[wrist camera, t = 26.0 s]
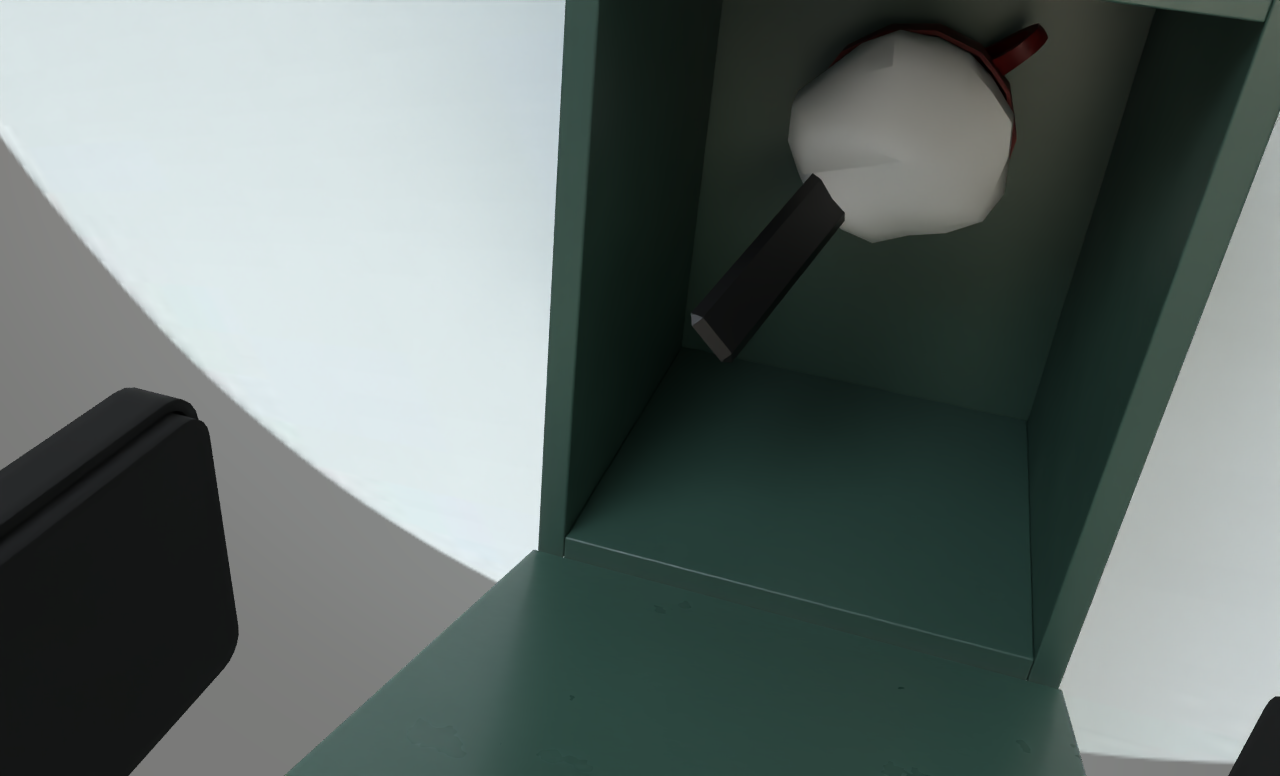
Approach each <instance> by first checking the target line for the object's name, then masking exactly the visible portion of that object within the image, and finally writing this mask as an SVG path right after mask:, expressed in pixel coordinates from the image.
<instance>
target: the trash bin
mask: <svg viewBox="0 0 1280 776" xmlns="http://www.w3.org/2000/svg"><path fill="white" fill-rule="evenodd" d="M1037 23H1039V24H1040V25H1041V26H1042V27H1043V28H1044V29H1045V31H1046V33H1047V35H1048V39H1047V41H1046V43H1045V44H1044V45H1043V46H1042V47H1041V48H1040V49H1039V50H1038V51H1037V52H1036V53H1034V54H1033V55H1032V56H1031V57H1029V58H1028V59H1027V60H1025V61H1024V62H1023V63H1021V64H1020V65H1018V66H1017V67H1016V68H1014V69H1013V70H1011V71H1010V72H1008V73H1007V74H1005V75H1004V76H1005V77H1006V78H1007V80H1008V81H1009V83H1010V87H1011V94H1012V102H1013V109H1014V116H1015V124H1016V134H1017V140H1016V143H1015V146H1014V149H1013V151H1012V154H1011V157H1010V160H1009V164H1008V170H1007V177H1006V184H1005V191H1004V195H1003V196H1002V197H1001V199H1000V200H999V201H998V202H997V204H996V205H995V206H994V207H993V209H992V210H991V211H990V213H989V214H988V215H987V216H986V218H985V219H984V220H983V221H982V222H979V223H976V224H973V225H970V226H967V227H964V228H960V229H957V230H954V231H951V232H948V233H940V234H923V235H908V236H903V237H899V238H894V239H889V240H885V241H880V242H875V243H871V242H869V241H867V240H864V239H862V238H860V237H857V236H855V235H853V234H850V233H848V232H846V231H843V230H841V229H840V228H839V229H838V230H837V231H836V232H835V234H834V235H833V236H832V237H831V239H830V240H829V241H828V242H827V244H826V245H825V246H824V247H823V249H822V250H821V251H820V253H819V254H818V255H817V256H816V258H815V259H814V260H813V261H812V263H811V264H810V265H809V266H808V268H807V269H806V270H805V271H804V273H803V274H802V275H801V276H800V278H799V279H798V280H797V281H796V283H795V284H794V285H793V286H792V288H791V289H790V290H789V291H788V293H787V294H786V295H785V297H784V298H783V299H782V300H781V302H780V303H779V304H778V305H777V307H776V308H775V309H774V310H773V312H772V313H771V314H770V315H769V317H768V318H767V319H766V320H765V322H764V323H763V324H762V325H761V327H760V328H759V329H758V330H757V332H756V333H755V334H754V336H753V337H752V338H751V339H750V341H749V342H748V343H747V344H746V346H745V347H744V348H743V349H742V351H741V352H740V353H739V354H738V356H737V357H736V358H735V359H734V361H733V362H732V363H727V362H721V361H720V360H719V358H718V357H717V356H716V355H715V353H714V352H713V351H712V350H711V349H710V347H709V346H708V345H707V344H706V342H705V341H704V340H703V339H702V337H701V336H700V335H699V334H698V333H697V331H696V330H695V329H694V328H693V326H692V324H691V313H692V311H693V310H694V309H695V308H696V307H697V306H698V304H699V303H700V302H701V301H702V300H703V299H704V298H705V296H706V295H707V294H708V293H709V292H710V291H711V290H712V288H713V287H714V286H715V285H716V284H717V283H718V281H719V280H720V279H721V278H722V277H723V276H724V275H725V273H726V272H727V271H728V270H729V269H730V268H731V266H732V265H733V264H734V263H735V262H736V261H737V260H738V258H739V257H740V256H741V255H742V254H743V253H744V252H745V250H746V249H747V248H748V247H749V246H750V245H751V243H752V242H753V241H754V240H755V239H756V238H757V237H758V235H759V234H760V233H761V232H762V231H763V230H764V228H765V227H766V226H767V225H768V224H769V223H770V222H771V220H772V219H773V218H774V217H775V216H776V215H777V214H778V212H779V211H780V210H781V209H782V208H783V207H784V205H785V204H786V203H787V202H788V201H789V200H790V199H791V197H792V196H793V195H794V194H795V193H796V192H797V190H798V189H799V188H800V187H801V186H802V185H803V182H802V180H801V178H800V175H799V173H798V170H797V167H796V164H795V161H794V158H793V155H792V152H791V149H790V146H789V143H788V135H789V126H790V118H791V109H792V105H793V102H794V100H795V97H796V95H797V92H798V91H799V90H800V89H802V88H803V87H804V86H806V85H807V84H808V83H810V82H811V81H812V80H814V79H815V78H817V77H818V76H819V75H821V74H822V73H823V72H825V71H826V70H827V69H828V68H829V66H830V65H831V64H832V63H833V61H834V60H835V59H836V58H837V57H838V55H839V54H840V53H841V52H842V51H843V49H844V48H845V47H846V46H847V45H848V44H851V43H853V42H855V41H857V40H859V39H861V38H863V37H865V36H867V35H869V34H871V33H873V32H876V31H878V30H880V29H882V28H884V27H886V26H888V25H890V24H942V25H944V26H946V27H948V28H950V29H952V30H954V31H956V32H958V33H960V34H962V35H964V36H966V37H968V38H970V39H972V40H974V41H976V42H979V43H980V44H982V45H983V47H984V48H986V47H988V46H990V45H992V44H994V43H996V42H998V41H1000V40H1002V39H1004V38H1005V37H1007V36H1009V35H1011V34H1013V33H1015V32H1017V31H1019V30H1022V29H1024V28H1026V27H1028V26H1030V25H1033V24H1037ZM1279 112H1280V0H566V5H565V25H564V45H563V65H562V85H561V105H560V126H559V146H558V166H557V186H556V206H555V226H554V246H553V266H552V286H551V306H550V326H549V346H548V366H547V386H546V406H545V426H544V446H543V466H542V486H541V506H540V526H539V546H538V550H539V551H541V552H545V553H548V554H552V555H556V556H560V557H564V558H567V559H571V560H575V561H579V562H582V563H586V564H590V565H594V566H597V567H601V568H605V569H609V570H612V571H616V572H620V573H624V574H627V575H631V576H635V577H639V578H642V579H646V580H650V581H654V582H657V583H661V584H665V585H669V586H672V587H676V588H680V589H684V590H688V591H691V592H695V593H699V594H703V595H706V596H710V597H714V598H718V599H721V600H725V601H729V602H733V603H736V604H740V605H744V606H748V607H751V608H755V609H759V610H763V611H766V612H770V613H774V614H778V615H781V616H785V617H789V618H793V619H797V620H800V621H804V622H808V623H812V624H815V625H819V626H823V627H827V628H830V629H834V630H838V631H842V632H845V633H849V634H853V635H857V636H860V637H864V638H868V639H872V640H875V641H879V642H883V643H887V644H891V645H894V646H898V647H902V648H906V649H909V650H913V651H917V652H921V653H924V654H928V655H932V656H936V657H939V658H943V659H947V660H951V661H954V662H958V663H962V664H966V665H969V666H973V667H977V668H981V669H984V670H988V671H992V672H996V673H1000V674H1003V675H1007V676H1011V677H1015V678H1018V679H1022V680H1027V681H1030V682H1033V683H1037V684H1041V685H1045V686H1048V687H1052V688H1056V689H1058V688H1059V686H1060V683H1061V681H1062V678H1063V675H1064V673H1065V670H1066V667H1067V665H1068V662H1069V660H1070V657H1071V654H1072V652H1073V649H1074V647H1075V644H1076V641H1077V639H1078V636H1079V634H1080V631H1081V628H1082V626H1083V623H1084V621H1085V618H1086V615H1087V613H1088V610H1089V607H1090V605H1091V602H1092V600H1093V597H1094V594H1095V592H1096V589H1097V587H1098V584H1099V581H1100V579H1101V576H1102V574H1103V571H1104V568H1105V566H1106V563H1107V561H1108V558H1109V555H1110V553H1111V550H1112V547H1113V545H1114V542H1115V540H1116V537H1117V534H1118V532H1119V529H1120V527H1121V524H1122V521H1123V519H1124V516H1125V514H1126V511H1127V508H1128V506H1129V503H1130V501H1131V498H1132V495H1133V493H1134V490H1135V487H1136V485H1137V482H1138V480H1139V477H1140V474H1141V472H1142V469H1143V467H1144V464H1145V461H1146V459H1147V456H1148V454H1149V451H1150V448H1151V446H1152V443H1153V441H1154V438H1155V435H1156V433H1157V430H1158V427H1159V425H1160V422H1161V420H1162V417H1163V414H1164V412H1165V409H1166V407H1167V404H1168V401H1169V399H1170V396H1171V394H1172V391H1173V388H1174V386H1175V383H1176V381H1177V378H1178V375H1179V373H1180V370H1181V367H1182V365H1183V362H1184V360H1185V357H1186V354H1187V352H1188V349H1189V347H1190V344H1191V341H1192V339H1193V336H1194V334H1195V331H1196V328H1197V326H1198V323H1199V321H1200V318H1201V315H1202V313H1203V310H1204V307H1205V305H1206V302H1207V300H1208V297H1209V294H1210V292H1211V289H1212V287H1213V284H1214V281H1215V279H1216V276H1217V274H1218V271H1219V268H1220V266H1221V263H1222V261H1223V258H1224V255H1225V253H1226V250H1227V247H1228V245H1229V242H1230V240H1231V237H1232V234H1233V232H1234V229H1235V227H1236V224H1237V221H1238V219H1239V216H1240V214H1241V211H1242V208H1243V206H1244V203H1245V201H1246V198H1247V195H1248V193H1249V190H1250V188H1251V185H1252V182H1253V180H1254V177H1255V174H1256V172H1257V169H1258V167H1259V164H1260V161H1261V159H1262V156H1263V154H1264V151H1265V148H1266V146H1267V143H1268V141H1269V138H1270V135H1271V133H1272V130H1273V128H1274V125H1275V122H1276V120H1277V117H1278V114H1279Z"/></svg>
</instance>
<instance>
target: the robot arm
mask: <svg viewBox="0 0 1280 776" xmlns="http://www.w3.org/2000/svg"><path fill="white" fill-rule="evenodd" d="M238 635H239V634H238V621H237V615H236V608H235V601H234V595H233V588H232V582H231V575H230V568H229V562H228V555H227V548H226V541H225V535H224V528H223V522H222V515H221V509H220V501H219V495H218V488H217V482H216V475H215V469H214V461H213V456H212V448H211V442H210V435H209V431H208V428H207V426H206V425H205V424H204V422H202V421H200V420H198V417H197V413H196V410H195V409H194V408H193V407H192V405H191V404H190V403H188V402H186V401H184V400H182V399H177V398H173V397H170V396H165V395H161V394H158V393H154V392H149V391H146V390H142V389H138V388H124V389H122V390H120V391H117V392H116V393H114V394H112V395H111V396H109V397H108V398H106V399H105V400H103V401H102V402H101V403H99V404H98V405H96V406H95V407H93V408H92V409H90V410H89V411H87V412H86V413H84V414H83V415H81V416H80V417H78V418H77V419H75V420H74V421H73V422H71V423H70V424H68V425H67V426H65V427H64V428H62V429H61V430H60V431H58V432H56V433H55V434H53V435H52V436H51V437H49V438H48V439H46V440H45V441H43V442H42V443H40V444H39V445H37V446H36V447H34V448H33V449H31V450H30V451H28V452H27V453H26V454H24V455H23V456H21V457H20V458H19V459H17V460H15V461H14V462H12V463H11V464H9V465H8V466H7V467H5V468H3V469H2V470H1V471H0V776H129V775H130V773H131V772H132V771H133V770H134V769H135V768H136V767H137V765H138V764H139V763H140V762H141V761H142V760H143V759H144V758H145V757H146V755H147V754H148V753H149V752H150V751H151V750H152V749H153V748H154V746H155V745H156V744H157V743H158V742H159V741H160V740H161V739H162V738H163V736H164V735H165V734H166V733H167V732H168V731H169V729H171V727H172V726H173V725H174V724H175V723H176V722H177V721H178V720H179V718H180V717H181V716H182V715H183V714H184V713H185V712H186V711H187V709H188V708H189V707H190V706H191V705H192V704H193V703H194V702H195V700H196V699H197V698H198V697H199V696H200V695H201V694H202V693H203V691H204V690H205V689H206V688H207V687H208V686H209V685H210V683H211V682H212V681H213V680H214V679H215V678H216V677H217V676H218V675H219V674H220V672H221V671H222V670H223V669H224V668H225V666H226V665H227V663H228V662H229V661H230V659H231V657H232V655H233V653H234V650H235V647H236V645H237V640H238ZM1228 776H1280V697H1276V696H1275V697H1274V698H1273V699H1271V700H1270V701H1269V702H1268V704H1267V705H1266V707H1265V708H1264V710H1263V712H1262V714H1261V716H1260V718H1259V719H1258V721H1257V723H1256V725H1255V727H1254V729H1253V731H1252V732H1251V734H1250V736H1249V738H1248V740H1247V742H1246V744H1245V746H1244V747H1243V749H1242V751H1241V753H1240V755H1239V757H1238V759H1237V760H1236V762H1235V764H1234V766H1233V768H1232V770H1231V772H1230V774H1229V775H1228Z"/></svg>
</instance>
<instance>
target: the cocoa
mask: <svg viewBox="0 0 1280 776" xmlns="http://www.w3.org/2000/svg"><path fill="white" fill-rule="evenodd" d="M1047 39H1048V35H1047V33H1046V31H1045V29H1044V28H1043V27H1042V26H1041V25H1040V24H1039V23H1037V24H1033V25H1030V26H1028V27H1026V28H1024V29H1022V30H1019V31H1017V32H1015V33H1013V34H1011V35H1009V36H1007V37H1005V38H1004V39H1002V40H1000V41H998V42H996V43H994V44H992V45H990V46H988V47H986V48H984V47H983V45H982V44H980V43H979V42H976V41H974V40H972V39H970V38H968V37H966V36H964V35H962V34H960V33H958V32H956V31H954V30H952V29H950V28H948V27H946V26H944V25H942V24H890V25H888V26H886V27H884V28H882V29H880V30H878V31H876V32H873V33H871V34H869V35H867V36H865V37H863V38H861V39H859V40H857V41H855V42H853V43H851V44H848V45H847V46H846V47H845V48H844V49H843V51H842V52H841V53H840V54H839V55H838V57H837V58H836V59H835V60H834V61H833V63H832V64H831V65H830V66H829V68H828V69H827V70H826V71H825V72H823V73H822V74H821V75H819V76H818V77H817V78H815V79H814V80H812V81H811V82H810V83H808V84H807V85H806V86H804V87H803V88H802V89H800V90H799V91H798V92H797V95H796V97H795V100H794V102H793V105H792V109H791V118H790V126H789V135H788V143H789V146H790V149H791V152H792V155H793V158H794V161H795V164H796V167H797V170H798V173H799V175H800V178H801V180H802V182H803V185H802V186H801V187H800V188H799V189H798V190H797V192H796V193H795V194H794V195H793V196H792V197H791V199H790V200H789V201H788V202H787V203H786V204H785V205H784V207H783V208H782V209H781V210H780V211H779V212H778V214H777V215H776V216H775V217H774V218H773V219H772V220H771V222H770V223H769V224H768V225H767V226H766V227H765V228H764V230H763V231H762V232H761V233H760V234H759V235H758V237H757V238H756V239H755V240H754V241H753V242H752V243H751V245H750V246H749V247H748V248H747V249H746V250H745V252H744V253H743V254H742V255H741V256H740V257H739V258H738V260H737V261H736V262H735V263H734V264H733V265H732V266H731V268H730V269H729V270H728V271H727V272H726V273H725V275H724V276H723V277H722V278H721V279H720V280H719V281H718V283H717V284H716V285H715V286H714V287H713V288H712V290H711V291H710V292H709V293H708V294H707V295H706V296H705V298H704V299H703V300H702V301H701V302H700V303H699V304H698V306H697V307H696V308H695V309H694V310H693V311H692V313H691V324H692V326H693V328H694V329H695V330H696V331H697V333H698V334H699V335H700V336H701V337H702V339H703V340H704V341H705V342H706V344H707V345H708V346H709V347H710V349H711V350H712V351H713V352H714V353H715V355H716V356H717V357H718V358H719V360H720V361H721V362H727V363H732V362H733V361H734V359H735V358H736V357H737V356H738V354H739V353H740V352H741V351H742V349H743V348H744V347H745V346H746V344H747V343H748V342H749V341H750V339H751V338H752V337H753V336H754V334H755V333H756V332H757V330H758V329H759V328H760V327H761V325H762V324H763V323H764V322H765V320H766V319H767V318H768V317H769V315H770V314H771V313H772V312H773V310H774V309H775V308H776V307H777V305H778V304H779V303H780V302H781V300H782V299H783V298H784V297H785V295H786V294H787V293H788V291H789V290H790V289H791V288H792V286H793V285H794V284H795V283H796V281H797V280H798V279H799V278H800V276H801V275H802V274H803V273H804V271H805V270H806V269H807V268H808V266H809V265H810V264H811V263H812V261H813V260H814V259H815V258H816V256H817V255H818V254H819V253H820V251H821V250H822V249H823V247H824V246H825V245H826V244H827V242H828V241H829V240H830V239H831V237H832V236H833V235H834V234H835V232H836V231H837V230H838V229H839V228H840V229H841V230H843V231H846V232H848V233H850V234H853V235H855V236H857V237H860V238H862V239H864V240H867V241H869V242H871V243H875V242H880V241H885V240H889V239H894V238H899V237H903V236H908V235H923V234H940V233H948V232H951V231H954V230H957V229H960V228H964V227H967V226H970V225H973V224H976V223H979V222H982V221H983V220H984V219H985V218H986V216H987V215H988V214H989V213H990V211H991V210H992V209H993V207H994V206H995V205H996V204H997V202H998V201H999V200H1000V199H1001V197H1002V196H1003V195H1004V191H1005V184H1006V177H1007V170H1008V164H1009V160H1010V157H1011V154H1012V151H1013V149H1014V146H1015V143H1016V140H1017V134H1016V124H1015V116H1014V109H1013V102H1012V94H1011V87H1010V83H1009V81H1008V80H1007V78H1006V77H1005V76H1004V75H1005V74H1007V73H1008V72H1010V71H1011V70H1013V69H1014V68H1016V67H1017V66H1018V65H1020V64H1021V63H1023V62H1024V61H1025V60H1027V59H1028V58H1029V57H1031V56H1032V55H1033V54H1034V53H1036V52H1037V51H1038V50H1039V49H1040V48H1041V47H1042V46H1043V45H1044V44H1045V43H1046V41H1047Z"/></svg>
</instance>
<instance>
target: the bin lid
mask: <svg viewBox="0 0 1280 776" xmlns="http://www.w3.org/2000/svg"><path fill="white" fill-rule="evenodd" d="M284 776H1086V774H1085V770H1084V767H1083V763H1082V759H1081V756H1080V752H1079V749H1078V745H1077V742H1076V738H1075V735H1074V731H1073V728H1072V724H1071V721H1070V717H1069V714H1068V710H1067V707H1066V703H1065V700H1064V696H1063V693H1062V690H1060V689H1056V688H1052V687H1048V686H1045V685H1041V684H1037V683H1033V682H1030V681H1026V680H1022V679H1018V678H1015V677H1011V676H1007V675H1003V674H1000V673H996V672H992V671H988V670H984V669H981V668H977V667H973V666H969V665H966V664H962V663H958V662H954V661H951V660H947V659H943V658H939V657H936V656H932V655H928V654H924V653H921V652H917V651H913V650H909V649H906V648H902V647H898V646H894V645H891V644H887V643H883V642H879V641H875V640H872V639H868V638H864V637H860V636H857V635H853V634H849V633H845V632H842V631H838V630H834V629H830V628H827V627H823V626H819V625H815V624H812V623H808V622H804V621H800V620H797V619H793V618H789V617H785V616H781V615H778V614H774V613H770V612H766V611H763V610H759V609H755V608H751V607H748V606H744V605H740V604H736V603H733V602H729V601H725V600H721V599H718V598H714V597H710V596H706V595H703V594H699V593H695V592H691V591H688V590H684V589H680V588H676V587H672V586H669V585H665V584H661V583H657V582H654V581H650V580H646V579H642V578H639V577H635V576H631V575H627V574H624V573H620V572H616V571H612V570H609V569H605V568H601V567H597V566H594V565H590V564H586V563H582V562H579V561H575V560H571V559H567V558H563V557H560V556H556V555H552V554H548V553H545V552H541V551H537V550H533V551H532V552H531V553H530V554H528V555H527V556H526V557H525V558H524V559H523V560H522V561H521V562H520V563H519V564H517V565H516V566H515V567H514V568H513V569H512V570H511V571H510V572H509V573H507V574H506V575H505V576H504V577H503V578H502V579H501V580H500V581H499V582H498V583H496V584H495V585H494V586H493V587H492V588H491V589H490V590H489V591H488V592H487V593H485V594H484V595H483V596H482V597H481V598H480V599H479V600H478V601H477V602H475V604H473V605H472V606H471V607H470V608H469V609H468V610H467V611H466V612H464V613H463V614H462V615H461V616H460V617H459V618H458V619H457V620H456V621H454V622H453V623H452V624H451V625H450V626H449V627H448V628H447V629H446V630H445V631H443V632H442V633H441V634H440V635H439V636H438V637H437V638H436V639H435V640H433V641H432V642H431V643H430V644H429V645H428V646H427V647H426V648H425V649H424V650H423V651H421V652H420V653H419V654H418V655H417V656H416V657H415V658H414V659H412V660H411V661H410V662H409V663H408V664H407V665H406V666H405V667H404V668H403V669H401V670H400V671H399V672H398V673H397V674H396V675H395V676H394V677H393V678H392V679H390V680H389V681H388V682H387V683H386V684H385V685H384V686H383V687H382V688H380V689H379V691H377V692H376V693H375V694H374V695H373V696H372V697H371V698H370V699H368V700H367V701H366V702H365V703H364V704H363V705H362V706H361V707H359V708H358V709H357V710H356V711H355V712H354V713H353V714H352V715H351V716H350V717H348V718H347V719H346V720H345V721H344V722H343V723H342V724H341V725H340V726H338V727H337V728H336V729H335V730H334V731H333V732H332V733H331V734H330V735H329V736H328V737H326V738H325V739H324V740H323V741H322V742H321V743H320V744H319V745H318V746H316V748H314V749H313V750H312V751H311V752H310V753H309V754H308V755H307V756H305V757H304V758H303V759H302V760H301V761H300V762H299V763H298V764H297V765H295V766H294V767H293V768H292V769H291V770H290V771H289V772H288V773H287V774H285V775H284Z"/></svg>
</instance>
